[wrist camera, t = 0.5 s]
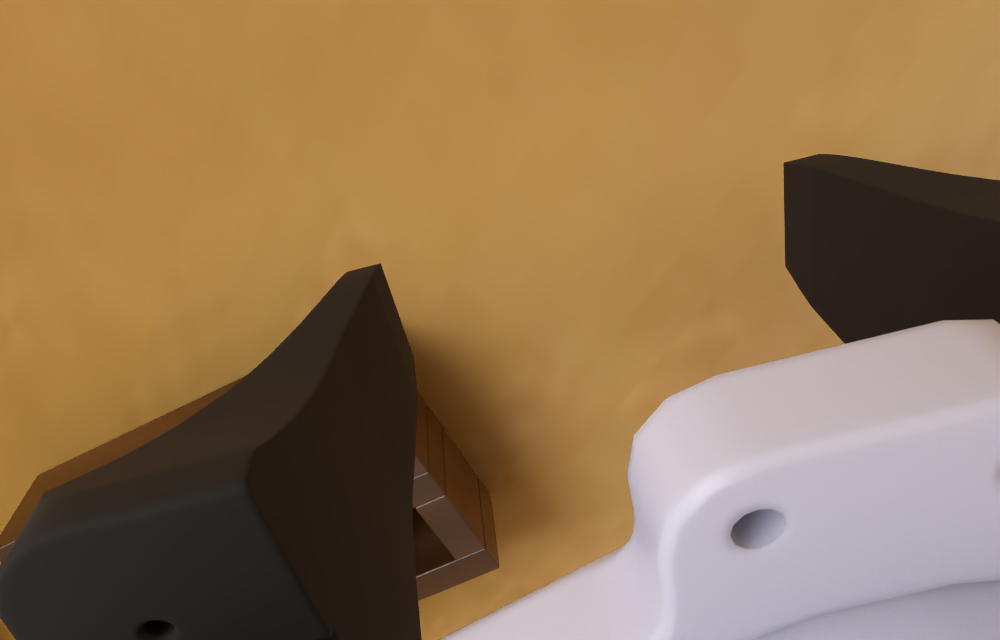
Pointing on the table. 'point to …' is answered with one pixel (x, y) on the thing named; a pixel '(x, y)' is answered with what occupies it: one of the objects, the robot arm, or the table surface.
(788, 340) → the table surface
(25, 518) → the organizer
